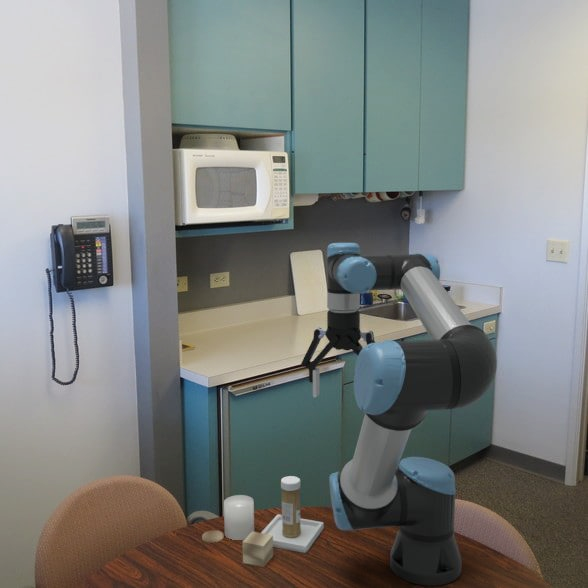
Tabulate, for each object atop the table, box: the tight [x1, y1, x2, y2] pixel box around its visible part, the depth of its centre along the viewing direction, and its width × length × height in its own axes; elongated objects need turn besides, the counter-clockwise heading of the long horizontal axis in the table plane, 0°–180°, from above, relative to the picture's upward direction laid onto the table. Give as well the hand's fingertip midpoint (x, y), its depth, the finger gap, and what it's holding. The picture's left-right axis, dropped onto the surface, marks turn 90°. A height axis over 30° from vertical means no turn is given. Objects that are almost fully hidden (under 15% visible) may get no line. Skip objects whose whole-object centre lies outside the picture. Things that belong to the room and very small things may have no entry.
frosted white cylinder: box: [223, 494, 255, 541], centre depth 164 cm, size 8×7×8 cm
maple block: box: [242, 531, 274, 568], centre depth 152 cm, size 5×5×5 cm
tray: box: [260, 513, 325, 554], centre depth 162 cm, size 12×12×2 cm
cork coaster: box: [201, 529, 225, 544], centre depth 162 cm, size 5×5×1 cm
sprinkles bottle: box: [280, 475, 302, 538], centre depth 161 cm, size 5×5×14 cm
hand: (343, 398), depth 163 cm, fingers open, 13 cm apart
